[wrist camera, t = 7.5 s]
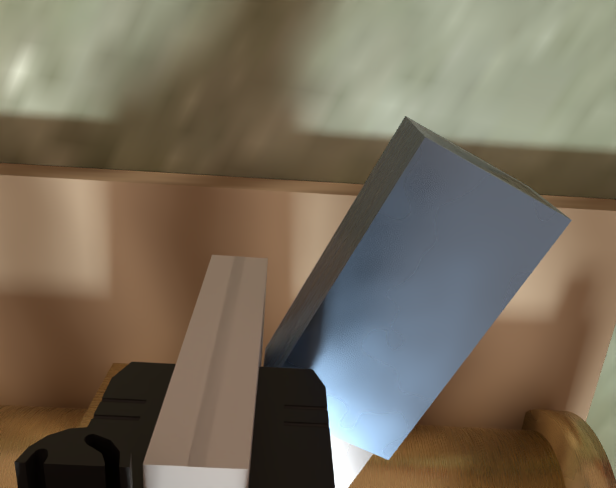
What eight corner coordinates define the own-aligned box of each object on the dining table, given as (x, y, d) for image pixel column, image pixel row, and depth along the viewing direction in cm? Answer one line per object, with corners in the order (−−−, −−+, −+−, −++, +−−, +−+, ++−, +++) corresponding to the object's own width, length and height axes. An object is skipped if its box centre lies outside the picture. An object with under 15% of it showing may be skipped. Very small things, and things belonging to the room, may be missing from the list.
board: (-105, 573, 29) (-126, 601, 28) (-232, 148, 21) (-270, 158, 20) (513, 598, 30) (523, 626, 29) (627, 199, 22) (649, 213, 20)
